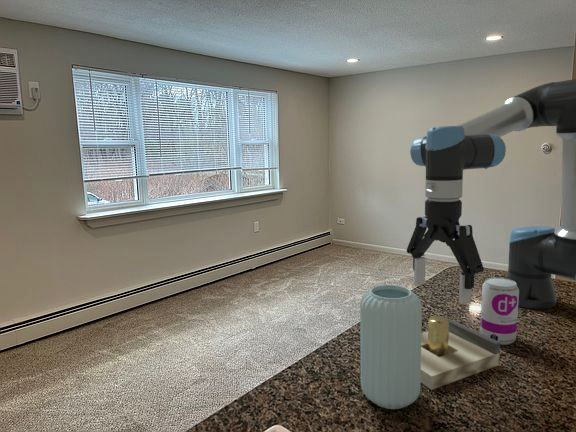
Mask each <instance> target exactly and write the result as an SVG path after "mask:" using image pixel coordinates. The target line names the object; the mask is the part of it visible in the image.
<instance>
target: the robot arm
mask: <svg viewBox="0 0 576 432" xmlns="http://www.w3.org/2000/svg"><path fill="white" fill-rule="evenodd" d="M539 127H555V135H557V136H558V137H559V138H561V139H562V152H561V153H562V156H561V157H562V159H561V162H562V163H561V165H562V166H561V196H560V199H561V205H560V206H561V207H560V226H559V227H558V228H557V229H555V228H554V227H552V226H541V225H540V226H524V227H523V226H522V227H517V228H514V229H512V230H511V232H510V237H509V242H508V243H509V247H508V249H509V250H508V264H507V265H508V266H507V267H508V269H507V275H506V277H505V279H510V280H513V281H515V282H516V284H517V287H518V289H519V301H518V307H519V308H520V307H521V308H525V309H537V310H542V309H543V310H544V309H545V310H546V309H551V308H554V307H555V306H557V299H558V298H557V293H556V291H555V287H554V283H553V281H552V280H553V279H552V275H554V276H558V277H562V278H565V279H569V280H571V281H576V78H574V79H569V80H561V81H555V82H554V81H551V82H547V83H543V84H541V85H537V86H535V87H532V88H530V89H528V90H525V91H524V92H521V93H519V94H517V95H513V96H511V97H510V98H508V99H506V100H505V101H504V102H503V103H502V105H501V106H498V107H496V108H494V109H492V110H489V111H487V112H485V113H482V114H481V115H477V116H476V117H473V118H472V119H469V120H467V121H465V122H462V123H459V124H458V125H445V126H433V127H430V128H428V130H427V132H426V135H425V136H422V137H418V138H416V139H415V140H414V141H412V143H411V146H410V151H409V155H410V158H411V160H412V162H413V164H415V165H417V166H419V167H425V186H424V187H425V188H424V189H425V190H424V191H425V194H424V195H425V197H426V200H425V201H424V216H420V217H419V216H418V217H416V221H415V228H414V231H413V233H412V234H411V238H410V239H409V243H408V245H407V248H406V252H407V254H410V255H411V258H412V259H413V260H412V268H413V271H414V276H413V278H414V281H413V282H414V283H413V285H414V286H421V285H425V284H426V264H427V263H426V262H427V261H426V259H427V258H426V257H425V253H426V252H427V251H428V249H429V248H430V247H431V245H432V244H433V243H434V241H439V242H441V243H444V244H446V246H447V247H449V248H450V250H451V252H452V254H453V255H454V257H455V259H456V262H457V263H458V265H459V267H460V268H461V271H462V272H460V273H459V286H458V287H459V289H458V290H459V291H458V304H461V305H464V304H466V303H467V304H468V303H471V302H472V290H473V289H474V287H475V275H476V274H479V273H483V272H484V271H485V269H484V266H483V262H482V259H481V257H480V253H479V250H478V248H477V244H476V241H475V239H474V236H473V233H474V231H473V226H472V225H471V224H466V225H461V224H460V218H461V217H462V212H463V210H462V209H463V201H462V200H461V198H463V179H464V176H463V175H464V171H465V170H475V169H488V168H494V167H497V166H499V165H500V164H501V163H502V162H503V161H504V159H505V157H506V153H507V151H506V150H507V149H506V148H507V147H506V143H505V141H504V140H503V139H502V138H501V137H503V136H505V135H507V134H510V133H512V132H523V131H526V129H531V128H539Z"/></svg>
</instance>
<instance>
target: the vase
mask: <svg viewBox="0 0 576 432" xmlns="http://www.w3.org/2000/svg"><path fill="white" fill-rule="evenodd" d="M359 303H360V304H359V307H360V308H359V310H360V313H359V316H360V317H359V318H360V321H359V325H360V327H359V329H360V331H359V332H360V333H359V335H360V337H359V338H360V388H361V390H362V392H363V394H364V395H365V396H366V398H367V399H368V400H370V401H371V402H372V403H374V404H375V405H377V406H378V407H381V408H385V409H390V410H399V409H403V408H406V407H409V406H410V405H412V404H413V403H414V402H415V401H417V400H418V398H419V396H420V393H421V382H420V378H421V333H422V329H423V328H422V327H423V326H422V323H423V321H422V320H423V305H422V302H421V300H420V298H419V296H417V294H416V293H415V292H413V291H412V290H411V289H409V288H407V287H405V286H402V285H396V284H381V285H376V286H373V287H372V288H371V289H368V290H367V291H366V292H365V293H364V294H363V295H362V296H361V298H360V302H359Z"/></svg>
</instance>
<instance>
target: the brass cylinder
mask: <svg viewBox="0 0 576 432" xmlns="http://www.w3.org/2000/svg"><path fill="white" fill-rule="evenodd" d="M444 317H445V316H444ZM444 317H443V316H437V315H433V316H430V317H429V318H428V323H427V324H428V325H427V327H428V328H427V331H428V351H429V352H431V353H433V354H434V355H436V356H438V357H441V356H444V355H447V354H448V338H449V320H448V319H449V318H448V317H446V318H444ZM447 318H448V319H447Z"/></svg>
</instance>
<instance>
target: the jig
mask: <svg viewBox="0 0 576 432" xmlns="http://www.w3.org/2000/svg"><path fill="white" fill-rule="evenodd" d="M444 318H447V319H448V320H449V338H448V354H447V355H444V356H441V357H438V356H436V355H434V354H433V353H431V352H429V351H428V330H427V331H423V332H421V378H420V384H422V385H424V386H425V387H426V388H427V389H429V390H430V391H431V390H436V389H437V388H440V387H443V386H445V385H449V384H452V383H453V382H454V383H455V382H456V381H459V380H463V379H465V378H467V377H470V376H474V375H476V374H479V373H481V372H482V373H483V372H484V371H487V370H489V369H493V368H495V367H498V366H499V365H500V354H501V353H500V351H501V350H500V349H501V345H500V342H498V341H496V340H494V339H492V338H490V337H487V336H485V335H483V334H481V333H480V331H476V330H474V329H472V328H470V327H468V326H466V325H463V324H461V323H460V322H457V321H455V320H453V319H450V318H449V317H446V316H444Z"/></svg>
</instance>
